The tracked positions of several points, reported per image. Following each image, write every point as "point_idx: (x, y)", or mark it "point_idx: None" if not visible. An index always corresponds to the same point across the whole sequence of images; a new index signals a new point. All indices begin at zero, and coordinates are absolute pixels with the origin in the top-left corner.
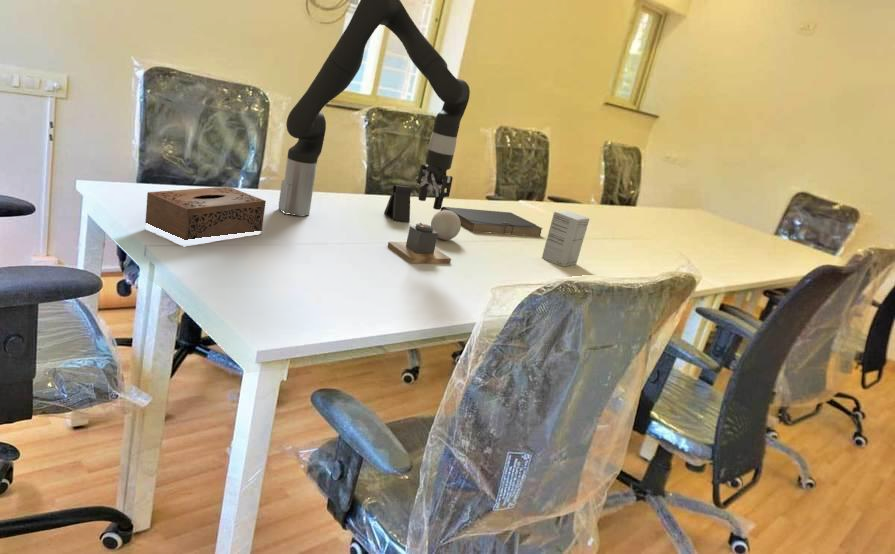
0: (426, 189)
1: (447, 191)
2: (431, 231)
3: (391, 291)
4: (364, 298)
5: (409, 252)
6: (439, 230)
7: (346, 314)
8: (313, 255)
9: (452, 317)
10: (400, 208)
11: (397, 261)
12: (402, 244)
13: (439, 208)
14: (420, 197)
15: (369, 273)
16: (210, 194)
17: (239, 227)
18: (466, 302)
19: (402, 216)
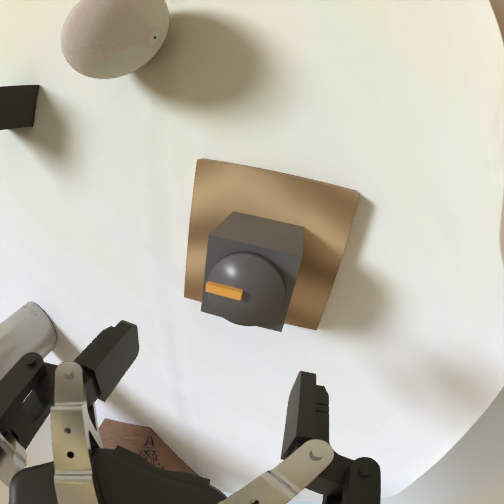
0: (98, 376)
1: (358, 497)
2: (283, 281)
3: (399, 423)
4: (389, 450)
5: None
6: (136, 67)
7: (401, 467)
8: (234, 434)
9: (491, 391)
10: (6, 113)
11: (295, 342)
12: None
13: (313, 381)
14: (130, 361)
15: (330, 418)
16: None
17: (165, 459)
18: (497, 344)
19: (24, 106)
